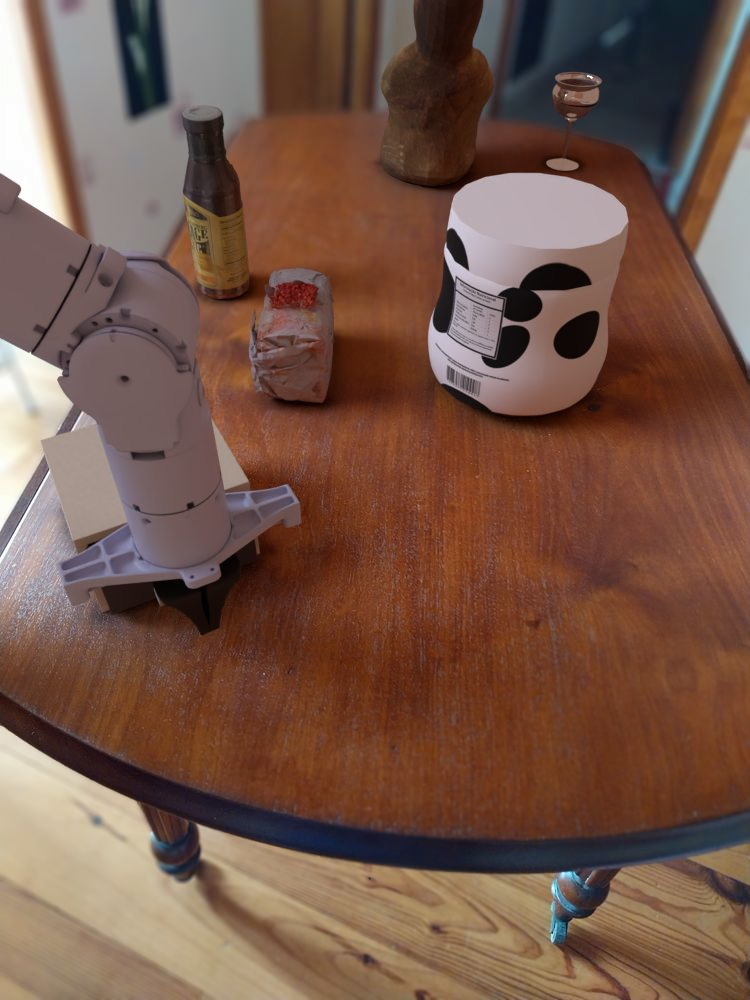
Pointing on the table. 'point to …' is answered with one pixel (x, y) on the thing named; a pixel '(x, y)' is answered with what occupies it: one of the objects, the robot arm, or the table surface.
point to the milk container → (526, 292)
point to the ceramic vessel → (436, 95)
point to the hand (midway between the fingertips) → (205, 621)
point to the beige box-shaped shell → (107, 486)
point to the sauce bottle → (214, 207)
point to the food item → (294, 337)
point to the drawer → (144, 591)
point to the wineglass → (573, 106)
